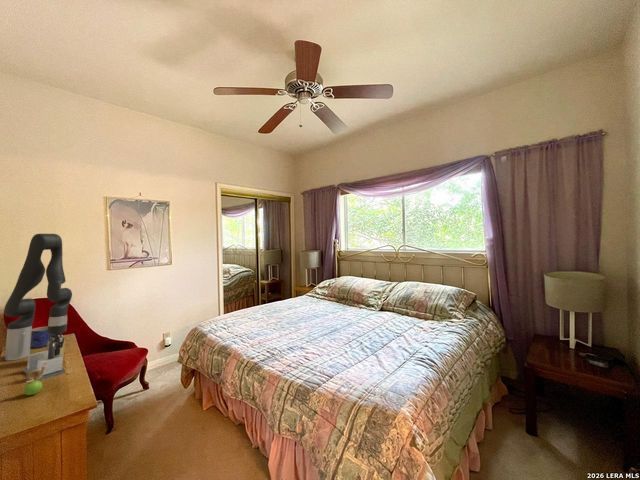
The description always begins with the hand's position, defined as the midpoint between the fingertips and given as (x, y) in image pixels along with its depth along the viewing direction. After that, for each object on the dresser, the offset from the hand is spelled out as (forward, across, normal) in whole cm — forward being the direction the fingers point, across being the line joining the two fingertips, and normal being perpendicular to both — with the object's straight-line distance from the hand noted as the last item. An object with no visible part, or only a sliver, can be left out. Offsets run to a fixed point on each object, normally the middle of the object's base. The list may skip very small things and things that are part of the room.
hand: (55, 354), depth 143 cm
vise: (+3, +16, -8) cm, 18 cm away
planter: (+4, -37, +4) cm, 37 cm away
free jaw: (+1, +22, -8) cm, 24 cm away
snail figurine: (+3, +39, -18) cm, 43 cm away
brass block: (+2, 0, 0) cm, 2 cm away
